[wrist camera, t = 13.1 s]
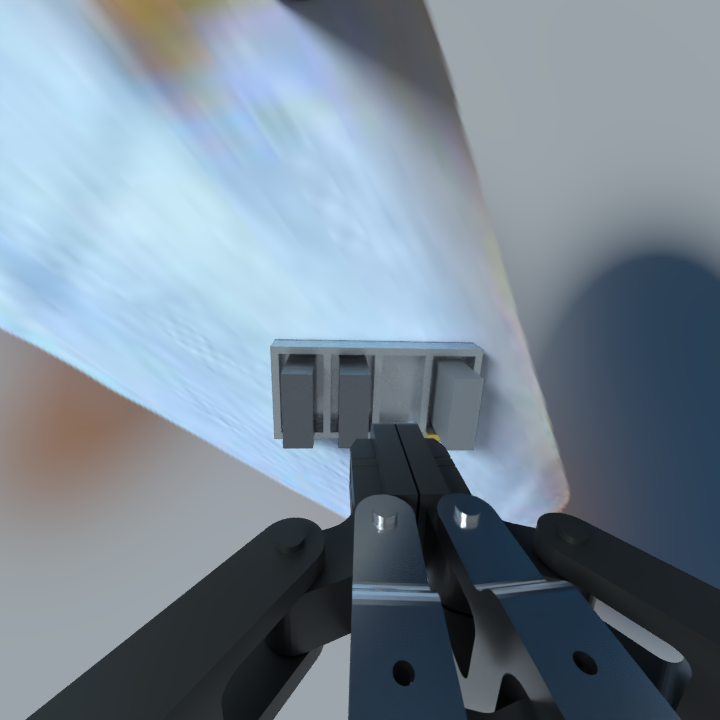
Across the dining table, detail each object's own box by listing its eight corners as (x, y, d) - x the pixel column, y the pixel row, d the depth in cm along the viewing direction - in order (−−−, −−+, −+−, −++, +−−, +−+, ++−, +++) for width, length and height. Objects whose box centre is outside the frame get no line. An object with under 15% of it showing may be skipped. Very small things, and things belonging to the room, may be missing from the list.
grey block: (435, 358, 41) (454, 379, 34) (460, 358, 41) (484, 379, 34) (429, 419, 43) (446, 450, 36) (452, 419, 43) (473, 450, 37)
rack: (278, 426, 43) (266, 461, 35) (275, 339, 39) (261, 358, 32) (461, 425, 44) (486, 459, 37) (473, 342, 41) (502, 361, 34)
